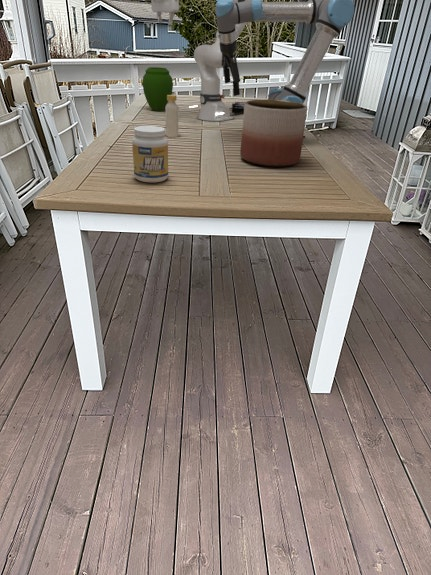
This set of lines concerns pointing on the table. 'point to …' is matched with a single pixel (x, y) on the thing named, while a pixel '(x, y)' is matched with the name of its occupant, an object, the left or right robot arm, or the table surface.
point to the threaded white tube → (171, 119)
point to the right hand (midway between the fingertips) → (232, 88)
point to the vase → (157, 87)
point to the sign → (238, 107)
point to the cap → (171, 97)
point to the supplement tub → (150, 154)
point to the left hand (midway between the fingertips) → (165, 23)
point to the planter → (272, 132)
